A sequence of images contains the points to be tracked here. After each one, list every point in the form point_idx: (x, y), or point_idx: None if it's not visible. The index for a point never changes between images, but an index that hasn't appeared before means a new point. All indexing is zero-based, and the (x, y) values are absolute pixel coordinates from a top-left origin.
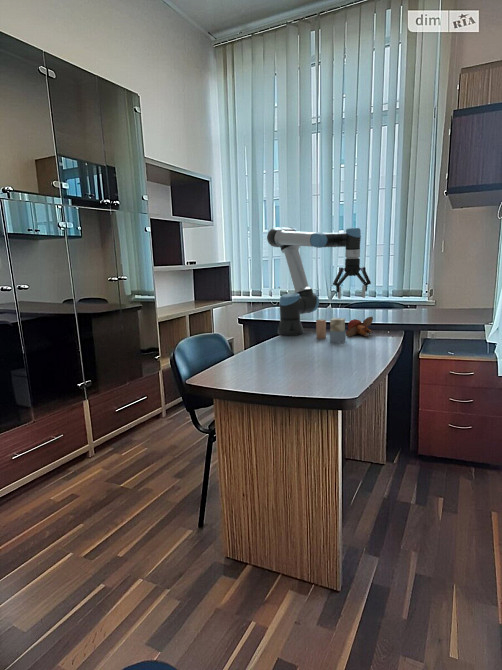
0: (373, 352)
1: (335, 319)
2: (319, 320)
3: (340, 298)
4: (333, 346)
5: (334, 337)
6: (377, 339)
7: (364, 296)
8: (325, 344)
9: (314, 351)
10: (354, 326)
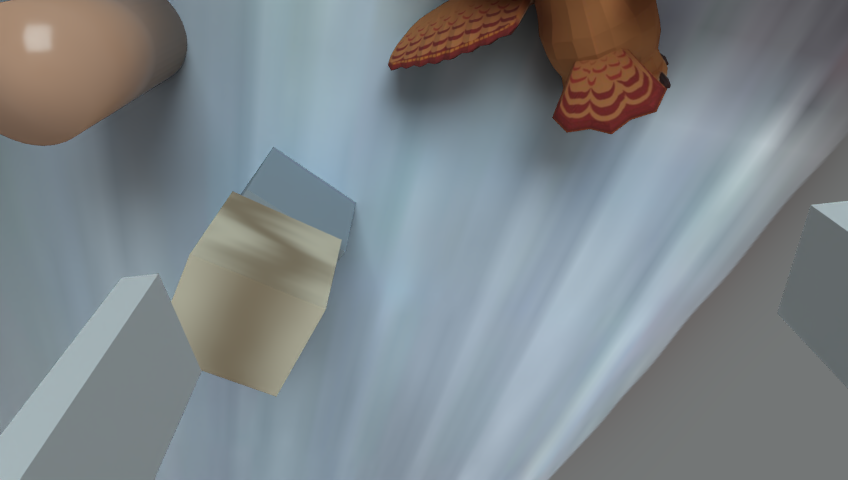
0: (448, 474)
1: (210, 350)
2: (2, 105)
3: (192, 378)
4: None
5: None
6: (622, 198)
7: (813, 335)
8: None
9: None
10: (499, 36)
